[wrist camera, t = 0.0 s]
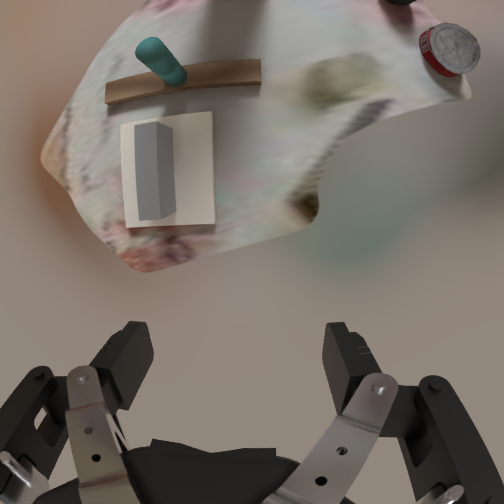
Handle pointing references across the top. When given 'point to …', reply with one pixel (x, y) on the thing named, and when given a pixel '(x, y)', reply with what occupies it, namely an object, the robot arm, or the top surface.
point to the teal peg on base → (178, 74)
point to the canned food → (450, 49)
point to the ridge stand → (168, 170)
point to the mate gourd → (402, 2)
